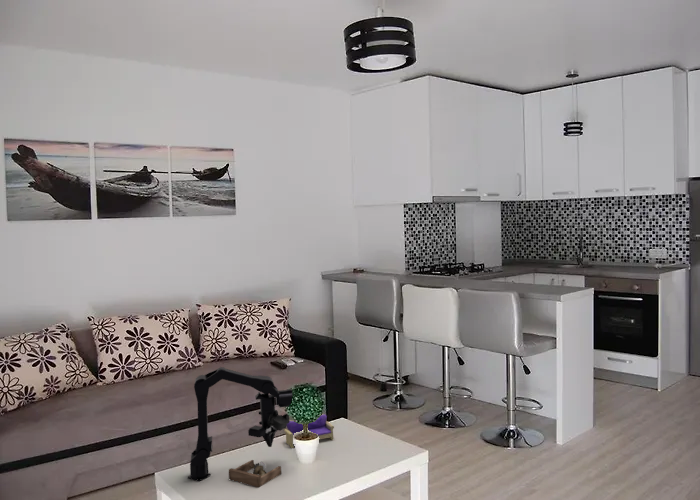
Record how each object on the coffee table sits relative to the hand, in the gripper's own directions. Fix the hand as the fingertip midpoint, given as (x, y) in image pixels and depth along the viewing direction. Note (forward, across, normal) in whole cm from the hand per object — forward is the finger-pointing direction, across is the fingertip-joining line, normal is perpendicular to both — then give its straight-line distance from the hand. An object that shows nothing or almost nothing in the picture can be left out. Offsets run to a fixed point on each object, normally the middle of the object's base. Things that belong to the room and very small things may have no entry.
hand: (269, 446), depth 248 cm
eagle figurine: (+9, -10, -2) cm, 13 cm away
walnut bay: (+9, -9, 0) cm, 13 cm away
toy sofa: (+10, +31, +4) cm, 33 cm away
